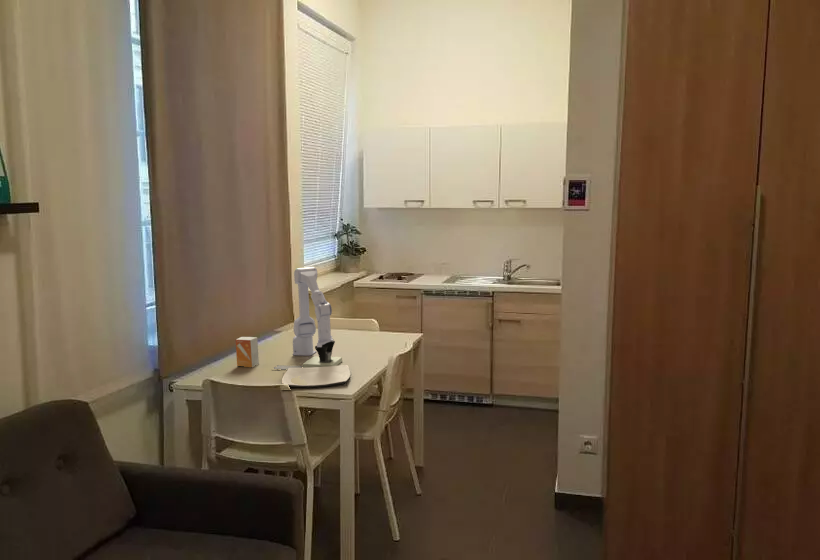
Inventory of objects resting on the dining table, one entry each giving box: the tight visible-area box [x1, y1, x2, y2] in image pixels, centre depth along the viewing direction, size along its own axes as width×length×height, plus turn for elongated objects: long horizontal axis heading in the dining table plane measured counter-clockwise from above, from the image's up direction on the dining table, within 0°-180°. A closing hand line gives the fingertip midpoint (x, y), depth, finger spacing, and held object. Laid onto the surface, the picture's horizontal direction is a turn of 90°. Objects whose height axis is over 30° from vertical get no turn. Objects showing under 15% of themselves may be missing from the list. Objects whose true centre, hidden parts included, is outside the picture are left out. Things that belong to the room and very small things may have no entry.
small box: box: [235, 336, 260, 368], centre depth 316 cm, size 8×6×13 cm
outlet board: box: [302, 355, 343, 368], centre depth 313 cm, size 14×14×2 cm
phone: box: [273, 364, 303, 370], centre depth 309 cm, size 13×7×1 cm, turn 75°
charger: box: [320, 352, 332, 363], centre depth 311 cm, size 4×4×7 cm
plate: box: [281, 364, 351, 388], centre depth 289 cm, size 29×29×3 cm
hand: (325, 359), depth 311 cm, fingers open, 7 cm apart
